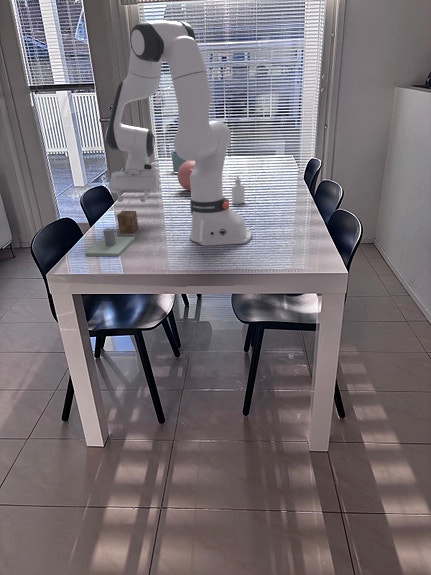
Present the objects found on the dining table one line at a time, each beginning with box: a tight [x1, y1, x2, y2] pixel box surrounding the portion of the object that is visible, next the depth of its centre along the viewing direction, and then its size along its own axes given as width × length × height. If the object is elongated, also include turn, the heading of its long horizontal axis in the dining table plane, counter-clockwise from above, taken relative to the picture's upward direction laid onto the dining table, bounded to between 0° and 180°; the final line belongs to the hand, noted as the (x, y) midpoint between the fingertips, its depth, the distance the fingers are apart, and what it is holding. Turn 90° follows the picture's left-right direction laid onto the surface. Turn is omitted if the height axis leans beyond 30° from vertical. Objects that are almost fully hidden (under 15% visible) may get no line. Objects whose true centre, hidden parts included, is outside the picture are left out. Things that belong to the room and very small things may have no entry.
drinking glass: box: [170, 151, 188, 173], centre depth 260 cm, size 10×10×12 cm
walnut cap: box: [116, 210, 139, 234], centre depth 165 cm, size 6×6×7 cm
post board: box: [84, 227, 136, 257], centre depth 149 cm, size 12×16×6 cm
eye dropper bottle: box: [231, 175, 246, 205], centre depth 191 cm, size 4×6×12 cm
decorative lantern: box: [176, 160, 195, 192], centre depth 212 cm, size 15×20×15 cm
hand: (131, 201), depth 168 cm, fingers open, 8 cm apart
